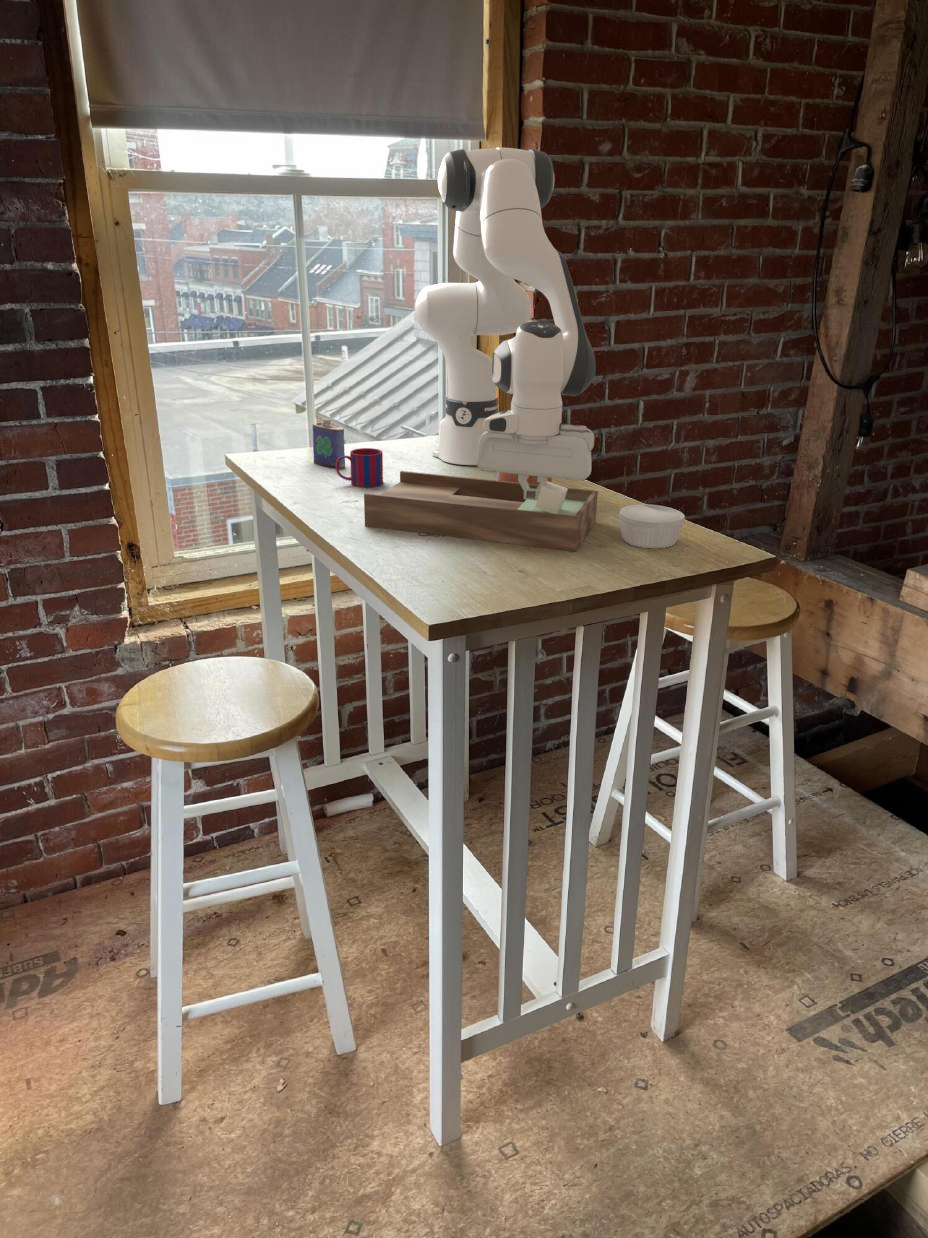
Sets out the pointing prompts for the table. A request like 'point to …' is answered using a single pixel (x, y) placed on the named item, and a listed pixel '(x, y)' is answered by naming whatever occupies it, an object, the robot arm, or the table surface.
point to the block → (551, 497)
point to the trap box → (480, 511)
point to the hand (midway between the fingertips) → (531, 499)
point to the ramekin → (650, 525)
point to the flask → (328, 444)
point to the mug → (364, 467)
